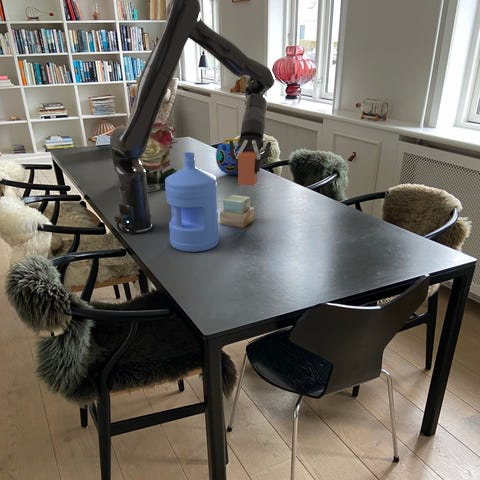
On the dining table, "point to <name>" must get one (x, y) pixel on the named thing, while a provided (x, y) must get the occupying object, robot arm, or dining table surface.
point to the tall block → (246, 168)
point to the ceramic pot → (226, 157)
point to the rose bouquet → (158, 154)
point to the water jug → (192, 208)
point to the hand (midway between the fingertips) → (246, 171)
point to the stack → (237, 211)
